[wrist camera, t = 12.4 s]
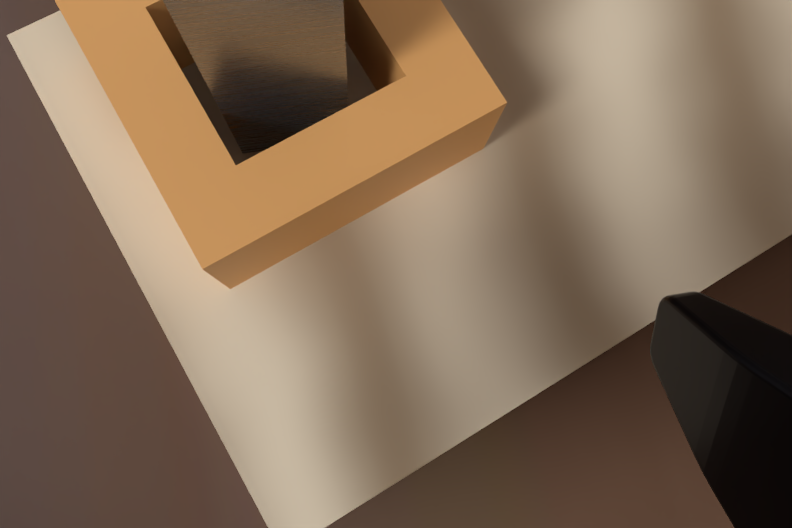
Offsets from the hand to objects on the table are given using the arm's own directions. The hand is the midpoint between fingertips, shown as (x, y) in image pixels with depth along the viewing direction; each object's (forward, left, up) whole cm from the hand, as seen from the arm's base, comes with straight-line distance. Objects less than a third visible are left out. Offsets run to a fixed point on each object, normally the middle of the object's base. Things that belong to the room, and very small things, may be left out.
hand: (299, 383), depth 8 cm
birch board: (+8, +5, -10) cm, 14 cm away
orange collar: (+3, +7, -9) cm, 12 cm away
